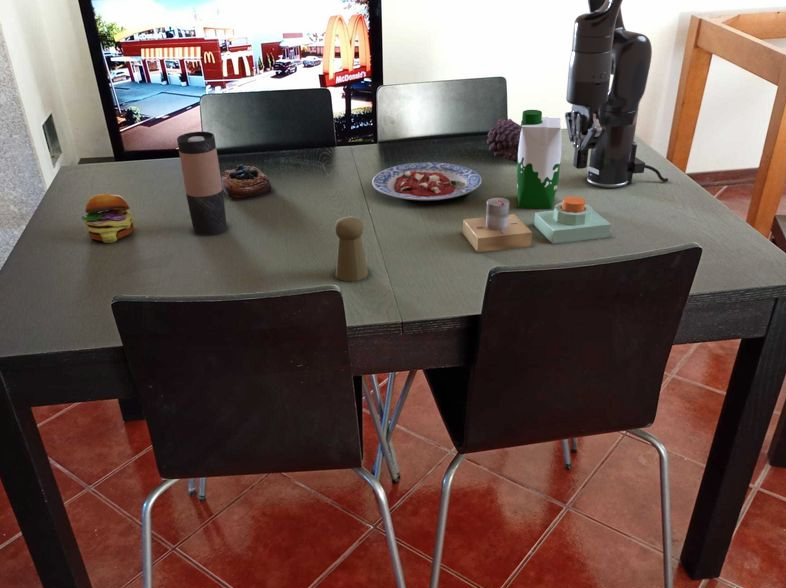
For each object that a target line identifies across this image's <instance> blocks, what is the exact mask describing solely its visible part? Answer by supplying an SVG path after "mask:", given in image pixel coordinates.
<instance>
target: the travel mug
mask: <svg viewBox="0 0 786 588" xmlns="http://www.w3.org/2000/svg"><path fill="white" fill-rule="evenodd" d="M176 142H177V148H178V153H179V154H178V155H179V159H180V166H181V173H182V178H183V184H184V191H185V197H186V201H187V205H188V209H189V210H188V211H189V216H190V220H191V225H192V229H193V233H195V234H197V235H200V236H212V235H213V236H214V235H217V234H221V233H222V232H224V231H226V229H227V216H226V208H225V207H226V206H225V198H224V197H225V196H224V191H223V186H222V175H221V170H220V169H221V168H220V163H219V157H218V152H217V144H216V138H215V135H214V133H212V132H209V131H192V132H187V133H183V134H181V135H179V136H177V138H176Z"/></svg>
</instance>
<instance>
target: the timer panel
mask: <svg viewBox="0 0 786 588" xmlns="http://www.w3.org/2000/svg"><path fill="white" fill-rule="evenodd" d="M462 234H463V235H464V237H465V238H466V239H467V241H468V242H469V243H470V245H471V246H472V247H473V249H474V250H475V251H476V253H484V252H491V251H502V250H510V249H518V248H519V249H520V248H526V247H532V239H533V238H532V236H533V232H532V231H531V229H529V227H528V226H527V225H526V224H525V223H523V221H522V220H521V219H520V218H519V217H518V216H517V215H516V214H515V213H511V214H510V213H509V217H508V227H507V228H505V229H500V230H494V229H490V228H488V227H486V216H483V217H474V218H473V217H472V218H465V219H463V220H462Z"/></svg>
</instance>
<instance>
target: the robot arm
mask: <svg viewBox="0 0 786 588" xmlns="http://www.w3.org/2000/svg"><path fill="white" fill-rule="evenodd" d="M623 2H624V1H623V0H587V4H588V9H589V11H588V12H586V13H583V14H580V15H578V16H577V17H576V18H575V20H574V24H573V32H572V33H573V34H572V45H571V53H570V58H569V61H568V62H569V63H568V73H567V74H568V75H567V85H566V94H565V95H566V96H565V100H566V102H567V103H568V104H570V105H571V110H570V111H567V112H564V119H565V122H566V123H565V124H566V129H567V134H568V140H569V142H570V143H572V146H573V149H574V152H573V161H572V162H573V167H574V168H576V169H577V170H581V169H582V170H583V169H586V168H587V169H586V170H587V177H586V182H587V183H588V184H589V185H592V186H594V187H598V188H605V189H614V188H615V189H616V188H622V187H625V186H627V185H631V184H632V183H633V177H634V176H633V175H635V174H643V173H645V169H648V170H651V171H652V172H653V173H655V174H656V176H657V178H658V179H659V180H660V181H661V182H664V183H665V182H668V181H669V178H668V177H666V178H665V177H663V176H662V174H661V172H660V171H659V169H657V168H655V167H654V166H651V165H648V164H646V162H645V161H643V160H641V159H640V158H638V157H637V148H638V143H637V142H636V141H635V137H636V130H637V123H638V117H639V110H640V103H641V100H642V99H643V97H644V96H645V92H646V89H647V83H648V79H649V75H650V74H649V73H650V69H651V63H652V57H653V56H652V55H653V48H652V47H653V46H652V42H651V40H650V39H649V37H648V36H647V35H646V34H644V33H640V32H636V31H631V30H626V27H625V24H624V20H623V14H622V3H623ZM611 75H612V80H611ZM611 81H612V82H611ZM610 84H611V86H610ZM589 151H590V155H589ZM588 159H589V162H588ZM588 163H589V164H588Z"/></svg>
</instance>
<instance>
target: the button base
mask: <svg viewBox="0 0 786 588" xmlns="http://www.w3.org/2000/svg"><path fill="white" fill-rule="evenodd" d="M562 204H563V201H561V202H558V203H556V204H555V205H554V208H553V210H547V211H537V212H534V221H533V222H534V223H533V225H534V227H535V228H536V229H537V230H538V231H540V233H541V234H542V235H543V236H544V237H545V238H546V239H547V240H548V241H549V242H550V243H551V244H553V245H554V244H561V243H569V242H579V241H587V240H595V239H597V240H598V239H603V238H604V239H605V238H610V233H611V228H612V223H610V222H609V221H608V220H607V219H605V217H603V216H602V215H600V214H599V213H598V212H597V211H595V210H594V209H593V207H592V206H591V205H589V204H588V203H585V209H584V211H583V212H578V213H573V212H566V211H563V210H562Z"/></svg>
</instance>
